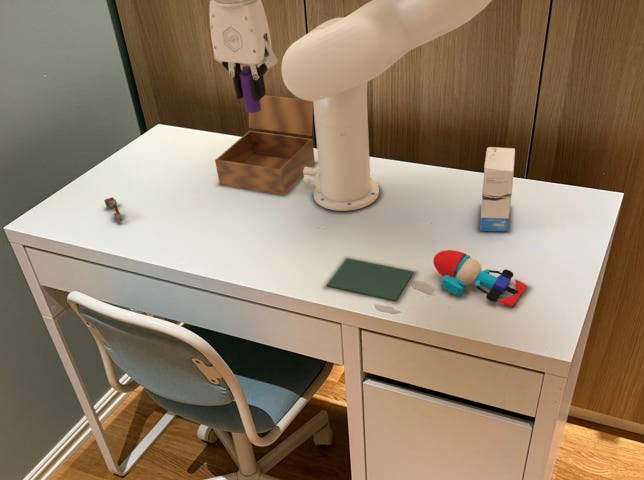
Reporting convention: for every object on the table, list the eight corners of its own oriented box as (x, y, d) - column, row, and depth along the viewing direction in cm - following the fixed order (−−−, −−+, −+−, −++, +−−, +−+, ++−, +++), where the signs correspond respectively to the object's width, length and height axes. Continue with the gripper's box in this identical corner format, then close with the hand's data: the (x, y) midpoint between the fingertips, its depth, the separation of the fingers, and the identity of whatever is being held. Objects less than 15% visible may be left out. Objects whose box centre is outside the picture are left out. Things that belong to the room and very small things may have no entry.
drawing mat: (327, 286, 116) (326, 284, 116) (346, 259, 121) (346, 258, 121) (396, 301, 112) (395, 299, 111) (413, 273, 117) (413, 271, 117)
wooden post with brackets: (116, 223, 134) (108, 199, 132) (111, 221, 141) (103, 198, 139) (126, 220, 134) (117, 196, 133) (120, 218, 142) (112, 196, 140)
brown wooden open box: (219, 184, 144) (214, 160, 140) (253, 154, 153) (249, 130, 149) (284, 195, 139) (280, 170, 135) (315, 163, 148) (312, 139, 144)
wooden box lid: (248, 93, 146) (248, 93, 146) (248, 127, 149) (249, 127, 149) (312, 100, 140) (313, 100, 141) (311, 136, 144) (312, 135, 144)
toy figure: (526, 291, 113) (441, 255, 118) (534, 269, 109) (446, 233, 114) (507, 321, 109) (420, 283, 114) (514, 299, 105) (424, 260, 110)
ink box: (508, 232, 123) (514, 170, 115) (479, 231, 124) (483, 169, 116) (509, 207, 129) (515, 146, 122) (481, 206, 130) (485, 145, 123)
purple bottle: (242, 112, 135) (235, 69, 130) (250, 105, 137) (243, 63, 132) (256, 114, 134) (249, 71, 128) (264, 107, 136) (257, 65, 130)
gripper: (182, -5, 122) (204, 100, 134) (264, 0, 116) (279, 110, 128) (206, -18, 127) (225, 85, 139) (286, -13, 121) (298, 94, 133)
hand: (251, 96), depth 134 cm, fingers closed on purple bottle, 3 cm apart
